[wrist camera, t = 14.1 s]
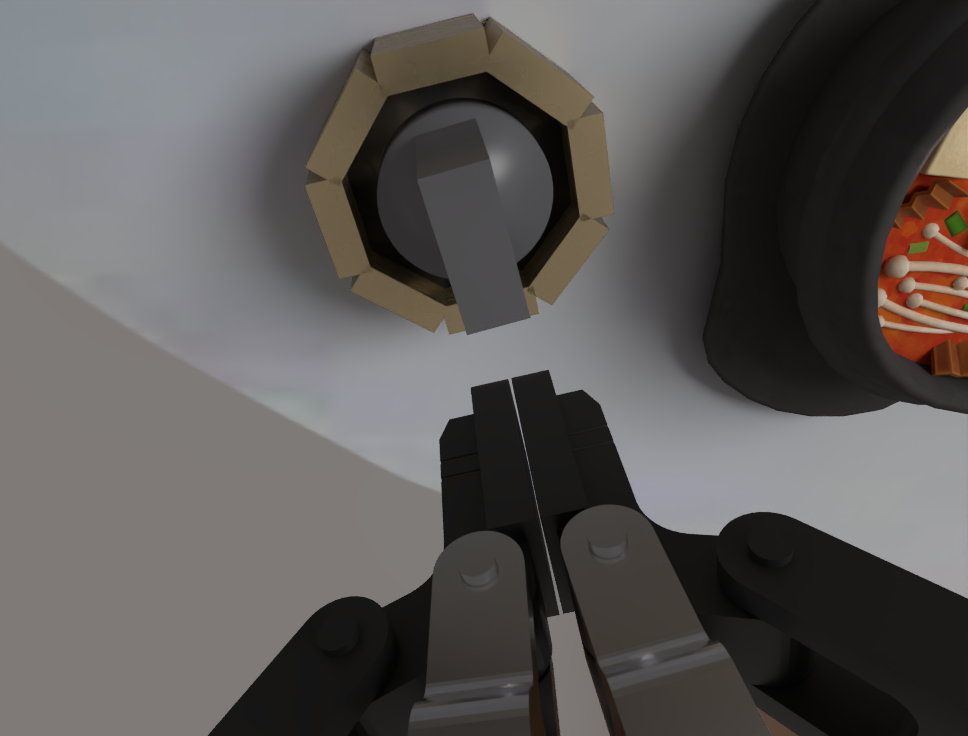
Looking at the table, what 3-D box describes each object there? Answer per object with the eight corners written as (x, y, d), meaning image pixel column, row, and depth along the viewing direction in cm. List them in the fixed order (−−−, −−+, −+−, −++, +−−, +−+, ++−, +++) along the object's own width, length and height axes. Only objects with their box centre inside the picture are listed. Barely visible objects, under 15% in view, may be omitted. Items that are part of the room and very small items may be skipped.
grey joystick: (525, 75, 22) (560, 117, 17) (559, 238, 26) (597, 314, 21) (353, 126, 23) (338, 182, 18) (409, 280, 26) (409, 365, 21)
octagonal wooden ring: (564, -10, 23) (591, 1, 20) (597, 251, 29) (622, 294, 25) (285, 60, 24) (266, 82, 20) (371, 304, 29) (366, 353, 26)
